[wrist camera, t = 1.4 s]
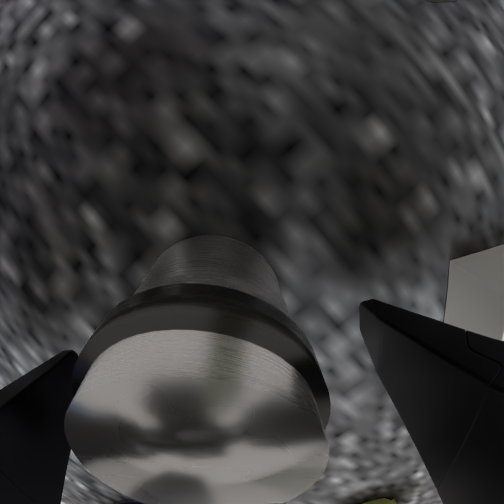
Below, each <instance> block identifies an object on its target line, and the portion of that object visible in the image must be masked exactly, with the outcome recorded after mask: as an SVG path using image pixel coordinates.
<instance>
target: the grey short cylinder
mask: <svg viewBox="0 0 504 504" xmlns="http://www.w3.org/2000/svg"><path fill="white" fill-rule="evenodd" d="M72 390H73V397H74V398H73V400H72V402H71V404H70V406H69V408H68V410H67V411H66V415H65V419H64V430H65V434H66V438H67V441H68V443H69V445H70V447H71V449H72V451H73V452H74V454H75V455H76V457H77V458H78V459H79V461H80V462H81V463H82V464H83V465H84V466H85V467H86V468H87V469H88V470H89V471H90V472H91V473H92V474H93V475H94V476H96V477H97V478H98V479H99V480H101V481H102V482H103V483H105V484H106V485H108V486H109V487H111V488H112V489H114V490H116V491H118V492H120V493H121V494H123V495H125V496H127V497H130V498H132V499H134V500H136V501H139V502H141V503H144V504H283V503H285V502H287V501H289V500H291V499H293V498H295V497H297V496H299V495H300V494H302V493H303V492H305V491H306V490H307V489H309V488H310V487H311V486H312V485H313V484H314V483H315V482H316V481H317V480H318V479H319V478H320V477H321V475H322V474H323V472H324V470H325V469H326V466H327V463H328V461H329V446H328V441H327V438H326V434H325V429H326V426H327V424H328V420H329V416H330V405H331V404H330V397H329V392H328V389H327V386H326V383H325V381H324V378H323V375H322V372H321V370H320V367H319V364H318V361H317V359H316V356H315V353H314V351H313V348H312V346H311V344H310V342H309V341H308V339H307V337H306V335H305V334H304V333H303V332H302V330H301V329H300V328H299V327H298V326H297V324H296V323H295V322H294V321H292V320H291V319H290V317H289V314H288V311H287V307H286V304H285V301H284V298H283V295H282V292H281V289H280V285H279V282H278V279H277V277H276V275H275V272H274V271H273V269H272V267H271V266H270V264H269V263H268V262H267V260H266V259H265V258H264V257H263V256H262V255H261V254H260V253H259V252H258V251H256V250H255V249H253V248H252V247H251V246H249V245H247V244H245V243H243V242H241V241H239V240H236V239H234V238H230V237H226V236H219V235H201V236H194V237H191V238H187V239H184V240H182V241H180V242H177V243H176V244H174V245H172V246H171V247H169V248H168V249H167V250H165V251H164V252H163V253H162V254H161V255H160V256H159V257H158V258H157V260H156V261H155V263H154V264H153V266H152V267H151V269H150V270H149V272H148V273H147V275H146V276H145V278H144V279H143V281H142V282H141V284H140V286H139V287H138V289H137V290H136V292H135V293H134V295H133V296H131V297H129V298H127V299H126V300H124V301H122V302H121V303H119V304H118V305H117V306H116V307H115V308H113V309H112V310H111V311H110V312H109V313H108V314H107V315H106V317H105V318H104V319H103V320H102V321H101V323H100V324H99V326H98V327H97V329H96V330H95V332H94V333H93V335H92V336H91V338H90V339H89V341H88V342H87V344H86V345H85V347H84V348H83V350H82V352H81V353H80V355H79V357H78V359H77V361H76V363H75V366H74V370H73V374H72Z"/></svg>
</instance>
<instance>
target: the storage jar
mask: <svg viewBox="0 0 504 504" xmlns="http://www.w3.org/2000/svg"><path fill="white" fill-rule="evenodd" d="M115 504H144V503H141V502H139V501H136V500H126V501H120V502H117V503H115Z"/></svg>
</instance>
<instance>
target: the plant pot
mask: <svg viewBox="0 0 504 504" xmlns="http://www.w3.org/2000/svg"><path fill="white" fill-rule="evenodd" d="M361 504H397V503H396V501H395V500H394V499H392V500H389V499H386V498H382V499H375V500H372V501H369V502H365V503H361Z"/></svg>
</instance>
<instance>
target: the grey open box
mask: <svg viewBox="0 0 504 504" xmlns="http://www.w3.org/2000/svg"><path fill="white" fill-rule="evenodd" d="M444 323H447V324H450V325H453V326H456V327H459V328H462V329H465V331H467V330H468V331H471V332H474V333H477V334H480V335H484V336H487V337H490V338H494V339H498V340H501V341H504V244H503V245H500V246H496V247H493V248H490V249H487V250H484V251H480V252H477V253H474V254H470V255H467V256H464V257H460V258H457V259H453V260H450V265H449V279H448V291H447V300H446V309H445V317H444Z"/></svg>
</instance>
